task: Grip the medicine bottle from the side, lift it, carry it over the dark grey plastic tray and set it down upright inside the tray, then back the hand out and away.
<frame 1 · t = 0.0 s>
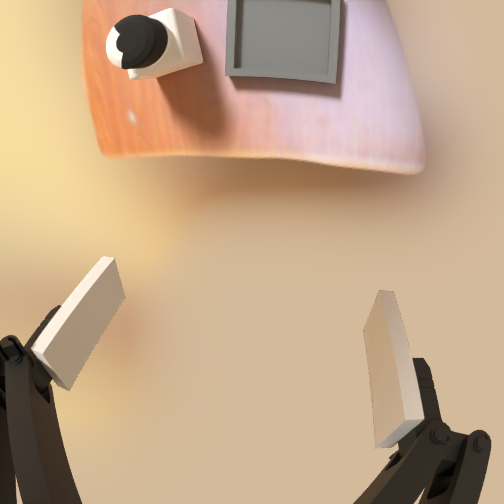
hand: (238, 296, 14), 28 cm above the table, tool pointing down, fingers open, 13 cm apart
bottle tray: (283, 30, 28), on the table
medicine bottle: (174, 47, 31), on the table
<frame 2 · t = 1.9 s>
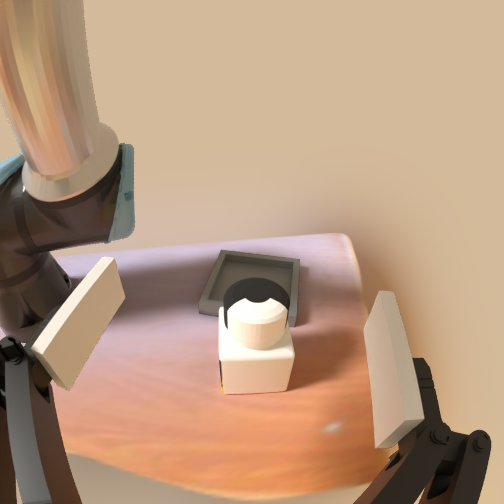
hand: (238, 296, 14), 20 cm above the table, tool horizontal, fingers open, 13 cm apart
bottle tray: (253, 289, 45), on the table
medicine bottle: (252, 369, 33), on the table
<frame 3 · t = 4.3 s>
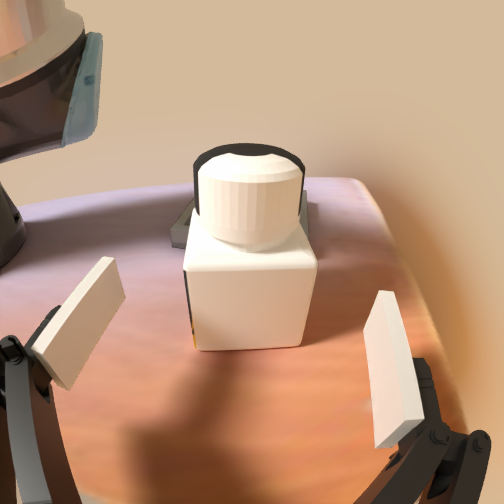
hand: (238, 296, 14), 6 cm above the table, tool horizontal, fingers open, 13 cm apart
bottle tray: (247, 222, 34), on the table
medicine bottle: (244, 315, 22), on the table
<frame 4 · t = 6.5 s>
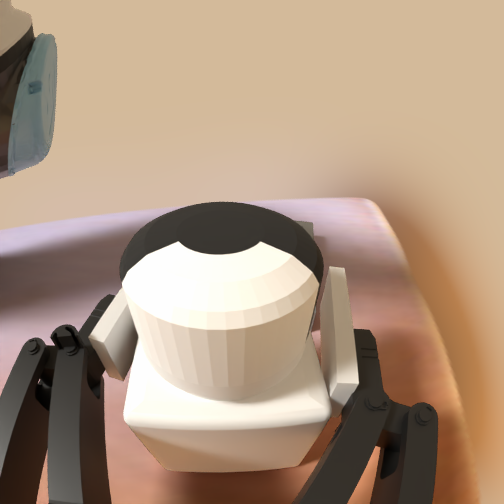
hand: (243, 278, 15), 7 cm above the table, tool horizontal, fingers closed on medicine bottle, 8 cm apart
medicine bottle: (228, 418, 15), on the table, touching gripper
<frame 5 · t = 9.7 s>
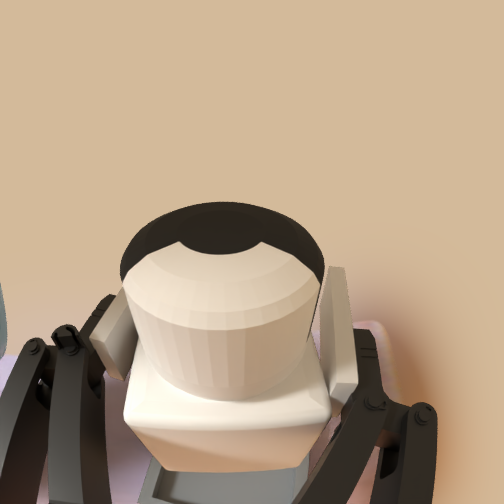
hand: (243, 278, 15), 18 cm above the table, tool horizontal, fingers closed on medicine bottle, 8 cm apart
bottle tray: (231, 463, 21), on the table
medicine bottle: (229, 418, 15), point 11 cm above the table, touching gripper
when the fingers open (8 cm above the table, at t = 12.8 s): medicine bottle drops 1 cm, resting on bottle tray.
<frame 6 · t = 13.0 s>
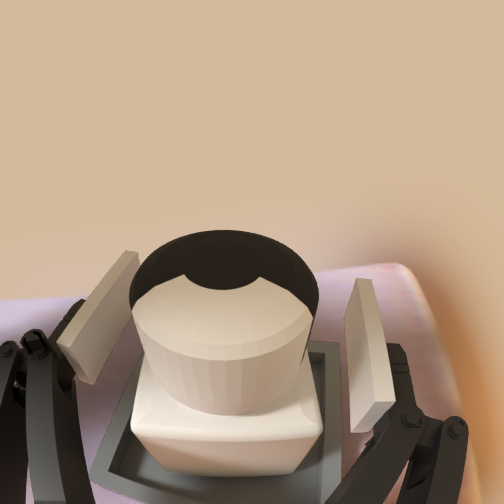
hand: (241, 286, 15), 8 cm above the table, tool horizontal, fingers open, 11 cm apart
bottle tray: (229, 427, 16), on the table
medicine bottle: (228, 426, 16), resting on bottle tray
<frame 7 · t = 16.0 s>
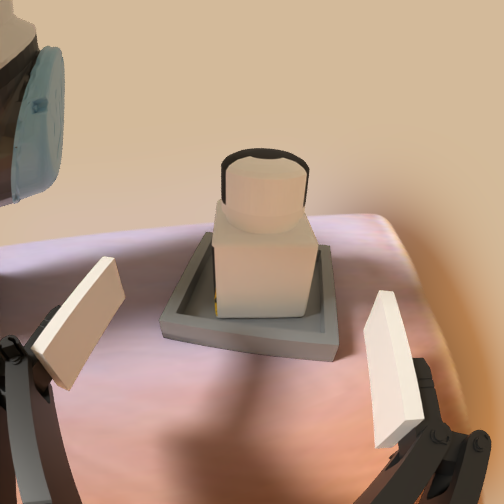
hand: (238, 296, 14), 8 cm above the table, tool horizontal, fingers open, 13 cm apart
bottle tray: (257, 295, 27), on the table
medicine bottle: (257, 292, 26), resting on bottle tray
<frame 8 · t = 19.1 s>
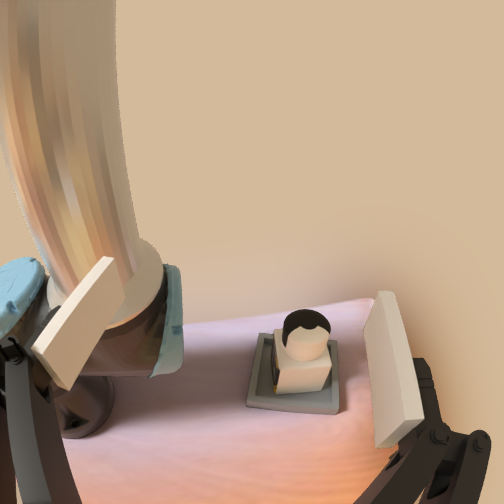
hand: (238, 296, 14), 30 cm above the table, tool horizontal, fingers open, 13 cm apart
bottle tray: (294, 376, 43), on the table
medicine bottle: (294, 375, 43), resting on bottle tray
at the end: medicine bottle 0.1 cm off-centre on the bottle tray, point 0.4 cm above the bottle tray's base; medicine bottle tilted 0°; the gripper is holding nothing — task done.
